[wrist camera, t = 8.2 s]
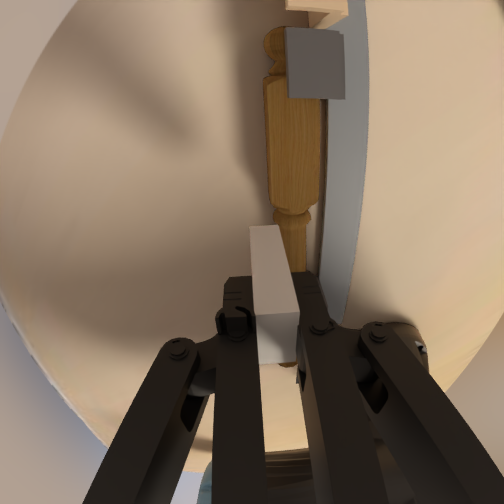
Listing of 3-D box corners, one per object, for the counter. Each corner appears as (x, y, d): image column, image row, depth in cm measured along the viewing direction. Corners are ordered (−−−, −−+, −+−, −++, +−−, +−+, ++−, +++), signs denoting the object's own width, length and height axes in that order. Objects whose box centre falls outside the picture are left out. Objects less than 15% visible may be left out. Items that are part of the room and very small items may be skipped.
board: (340, 319, 29) (355, 363, 24) (257, 326, 28) (260, 374, 24) (355, -41, 11) (389, -69, 6) (234, -50, 11) (232, -89, 6)
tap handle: (275, 370, 29) (262, 22, 12) (272, 348, 31) (259, 31, 15) (304, 367, 29) (315, 23, 12) (299, 345, 31) (304, 32, 15)
